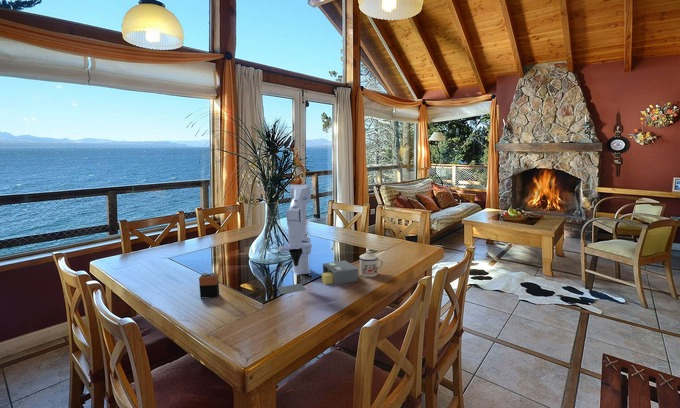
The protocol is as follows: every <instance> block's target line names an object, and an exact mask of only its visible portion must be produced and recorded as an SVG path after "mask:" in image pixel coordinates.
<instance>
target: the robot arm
mask: <svg viewBox="0 0 680 408" xmlns="http://www.w3.org/2000/svg"><path fill="white" fill-rule="evenodd" d="M289 186H290V187H289V195H290V198H291V200H290V203H289V204H290V205H289V208H288V209H286V213H285V216H286V217H285V218H286V224H287V225H286V226H287V231H288V233H287V234H288V235H287V236H288V238H287V239H288V244H286V245H281V246H278V252H279V253H281V252H286V251H287V252H288V253H289V254H290V257H291V259H292V268H291V269H290V271H291V272H292V273H293V274H295V276H299V275H306V274H312V271H311V270H310V269H309V267H310V265H309V255H311V252H312V247H313V246H312V242H311V241H312V240H311V238H310V237H309V236H308V235H306V222H307V221H306V217H307V215H306V214H307V213H306V211H307V210H306V208H307V204H308V203H310V202H311V198H312V197H311V194H312V190H311V185H310V183H308V184H291V185H289Z"/></svg>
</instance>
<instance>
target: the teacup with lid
mask: <svg viewBox="0 0 680 408" xmlns="http://www.w3.org/2000/svg"><path fill="white" fill-rule="evenodd" d="M358 257H359V275H360V276H362V277H364V278H374V277H377V275H378V270H380V269H382V268H383V267H384V260H382V259H381V258H379V257H378V255H377V254H374V253H372V252H371V250H367V251H366V252H365V253H363V254H360V255H359V256H358ZM378 262H380V263H381V264H380V266H378Z"/></svg>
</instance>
